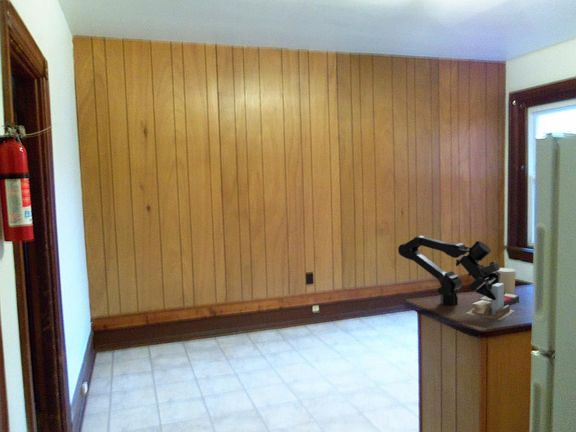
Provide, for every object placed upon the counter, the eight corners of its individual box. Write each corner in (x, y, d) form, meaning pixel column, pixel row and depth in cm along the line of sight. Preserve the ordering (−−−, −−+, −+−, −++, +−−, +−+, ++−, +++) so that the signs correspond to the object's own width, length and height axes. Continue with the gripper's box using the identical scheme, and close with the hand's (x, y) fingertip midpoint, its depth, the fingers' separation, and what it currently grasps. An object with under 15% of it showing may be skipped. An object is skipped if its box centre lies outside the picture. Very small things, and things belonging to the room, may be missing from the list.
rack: (465, 315, 191) (465, 307, 190) (481, 307, 202) (481, 299, 201) (499, 322, 181) (499, 314, 180) (515, 313, 192) (515, 304, 191)
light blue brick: (491, 314, 188) (491, 285, 187) (497, 310, 192) (497, 282, 191) (497, 315, 186) (497, 286, 185) (503, 312, 190) (503, 283, 189)
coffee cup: (507, 291, 226) (508, 267, 225) (520, 296, 217) (520, 271, 216) (490, 292, 225) (490, 268, 224) (501, 297, 215) (502, 272, 214)
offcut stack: (471, 311, 192) (471, 303, 192) (480, 306, 198) (480, 299, 198) (484, 314, 188) (484, 306, 188) (493, 309, 195) (493, 301, 194)
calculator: (478, 298, 205) (495, 290, 214) (478, 307, 205) (496, 299, 214) (502, 302, 196) (519, 294, 205) (502, 312, 197) (519, 303, 205)
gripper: (476, 259, 184) (505, 290, 177) (495, 252, 197) (523, 281, 190) (458, 276, 190) (485, 306, 183) (477, 268, 203) (503, 296, 196)
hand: (499, 297), depth 188 cm, fingers open, 9 cm apart
